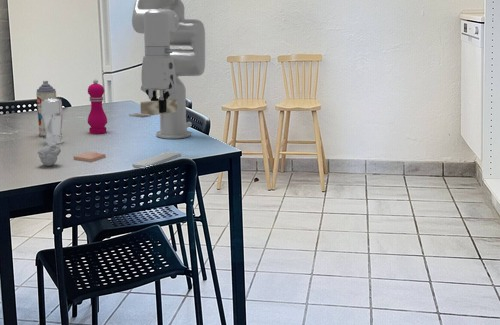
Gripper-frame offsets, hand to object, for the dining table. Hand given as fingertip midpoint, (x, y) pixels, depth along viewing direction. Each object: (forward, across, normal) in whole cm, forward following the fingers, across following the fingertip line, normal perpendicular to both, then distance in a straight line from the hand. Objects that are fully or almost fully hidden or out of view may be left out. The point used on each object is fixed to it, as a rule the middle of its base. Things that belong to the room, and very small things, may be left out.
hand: (158, 111), depth 204 cm
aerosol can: (+15, +57, -11) cm, 60 cm away
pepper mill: (+15, +45, -24) cm, 53 cm away
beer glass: (+16, +47, -3) cm, 50 cm away
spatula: (+1, 0, +2) cm, 2 cm away
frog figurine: (+16, +25, +22) cm, 37 cm away
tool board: (+15, 0, +1) cm, 16 cm away
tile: (+15, +21, +6) cm, 26 cm away
